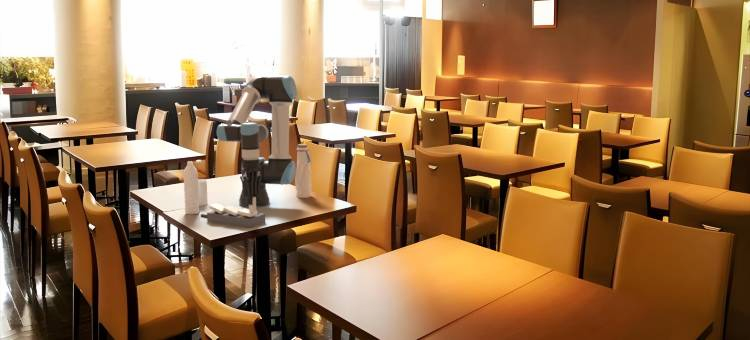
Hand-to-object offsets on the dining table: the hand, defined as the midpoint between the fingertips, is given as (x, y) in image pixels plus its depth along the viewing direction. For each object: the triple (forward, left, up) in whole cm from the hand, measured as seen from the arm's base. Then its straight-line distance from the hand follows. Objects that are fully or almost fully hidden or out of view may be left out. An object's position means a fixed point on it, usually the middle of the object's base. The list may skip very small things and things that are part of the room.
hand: (252, 211), depth 269 cm
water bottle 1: (-6, -39, -7) cm, 40 cm away
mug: (-19, -49, -7) cm, 53 cm away
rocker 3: (0, -3, -1) cm, 3 cm away
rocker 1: (0, -19, -1) cm, 19 cm away
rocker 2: (0, -11, -1) cm, 11 cm away
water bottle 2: (-59, -11, -7) cm, 61 cm away
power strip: (-2, -15, -7) cm, 17 cm away
